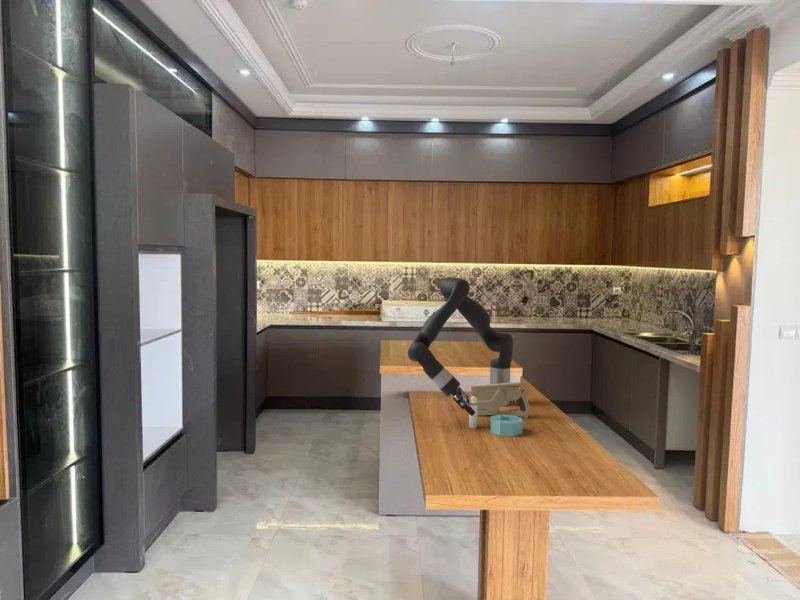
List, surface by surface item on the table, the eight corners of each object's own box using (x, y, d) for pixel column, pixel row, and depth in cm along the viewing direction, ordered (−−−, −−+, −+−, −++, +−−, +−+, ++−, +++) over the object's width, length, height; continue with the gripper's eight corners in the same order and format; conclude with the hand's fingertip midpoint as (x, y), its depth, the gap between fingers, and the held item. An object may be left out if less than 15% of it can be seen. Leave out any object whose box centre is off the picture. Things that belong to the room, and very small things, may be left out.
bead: (490, 426, 229) (490, 413, 228) (521, 427, 227) (521, 415, 226) (490, 435, 217) (490, 422, 216) (522, 437, 215) (523, 424, 214)
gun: (530, 415, 244) (528, 381, 243) (531, 418, 241) (529, 383, 240) (473, 418, 247) (470, 384, 246) (473, 420, 243) (471, 386, 242)
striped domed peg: (468, 425, 229) (469, 394, 228) (477, 426, 228) (477, 395, 227) (468, 428, 225) (469, 396, 224) (476, 428, 225) (477, 397, 224)
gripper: (451, 379, 220) (480, 410, 219) (453, 372, 234) (481, 401, 233) (437, 392, 221) (466, 422, 220) (440, 384, 235) (468, 413, 234)
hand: (474, 411), depth 226 cm, fingers open, 8 cm apart
